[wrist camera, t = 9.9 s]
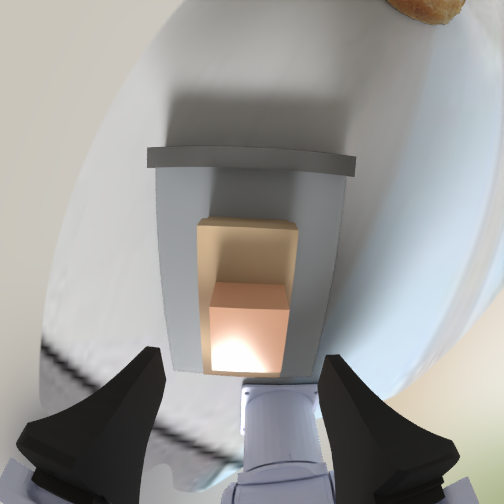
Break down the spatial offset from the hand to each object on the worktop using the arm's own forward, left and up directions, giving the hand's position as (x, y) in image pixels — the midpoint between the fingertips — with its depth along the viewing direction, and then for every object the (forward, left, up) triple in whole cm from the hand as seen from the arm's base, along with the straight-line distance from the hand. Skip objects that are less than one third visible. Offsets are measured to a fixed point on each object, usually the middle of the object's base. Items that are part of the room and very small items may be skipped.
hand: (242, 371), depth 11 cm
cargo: (0, 0, -4) cm, 4 cm away
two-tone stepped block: (0, 0, -8) cm, 8 cm away
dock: (0, 0, -10) cm, 10 cm away
